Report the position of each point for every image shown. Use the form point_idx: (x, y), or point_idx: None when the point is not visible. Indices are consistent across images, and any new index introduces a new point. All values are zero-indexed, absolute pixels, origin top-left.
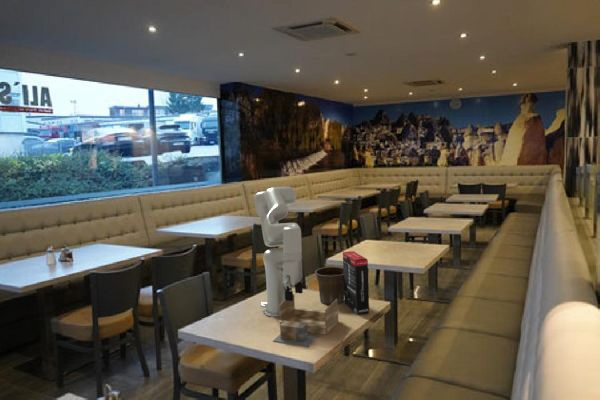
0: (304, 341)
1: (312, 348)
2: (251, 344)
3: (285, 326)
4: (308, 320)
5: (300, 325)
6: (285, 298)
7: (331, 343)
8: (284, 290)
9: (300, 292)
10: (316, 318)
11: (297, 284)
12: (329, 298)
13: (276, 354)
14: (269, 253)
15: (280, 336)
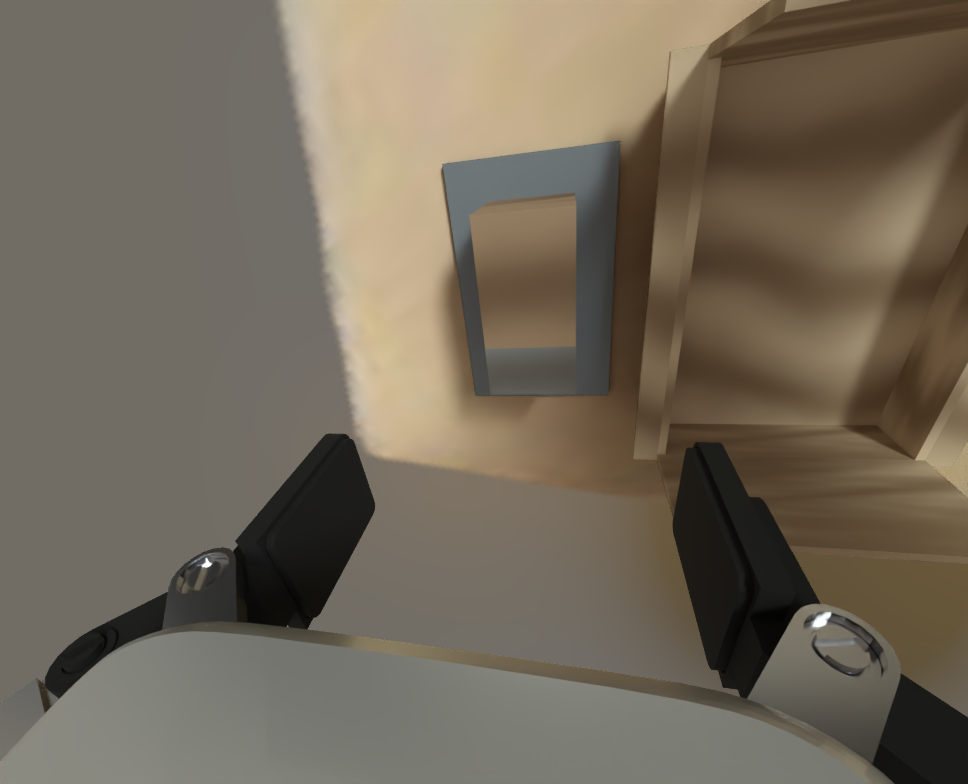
0: None
1: (472, 412)
2: (327, 21)
3: (476, 266)
4: (908, 226)
5: (528, 367)
6: (316, 447)
7: (557, 467)
8: (184, 564)
9: (676, 522)
10: (947, 281)
11: (727, 620)
12: None
13: (327, 283)
14: None
15: (524, 175)
